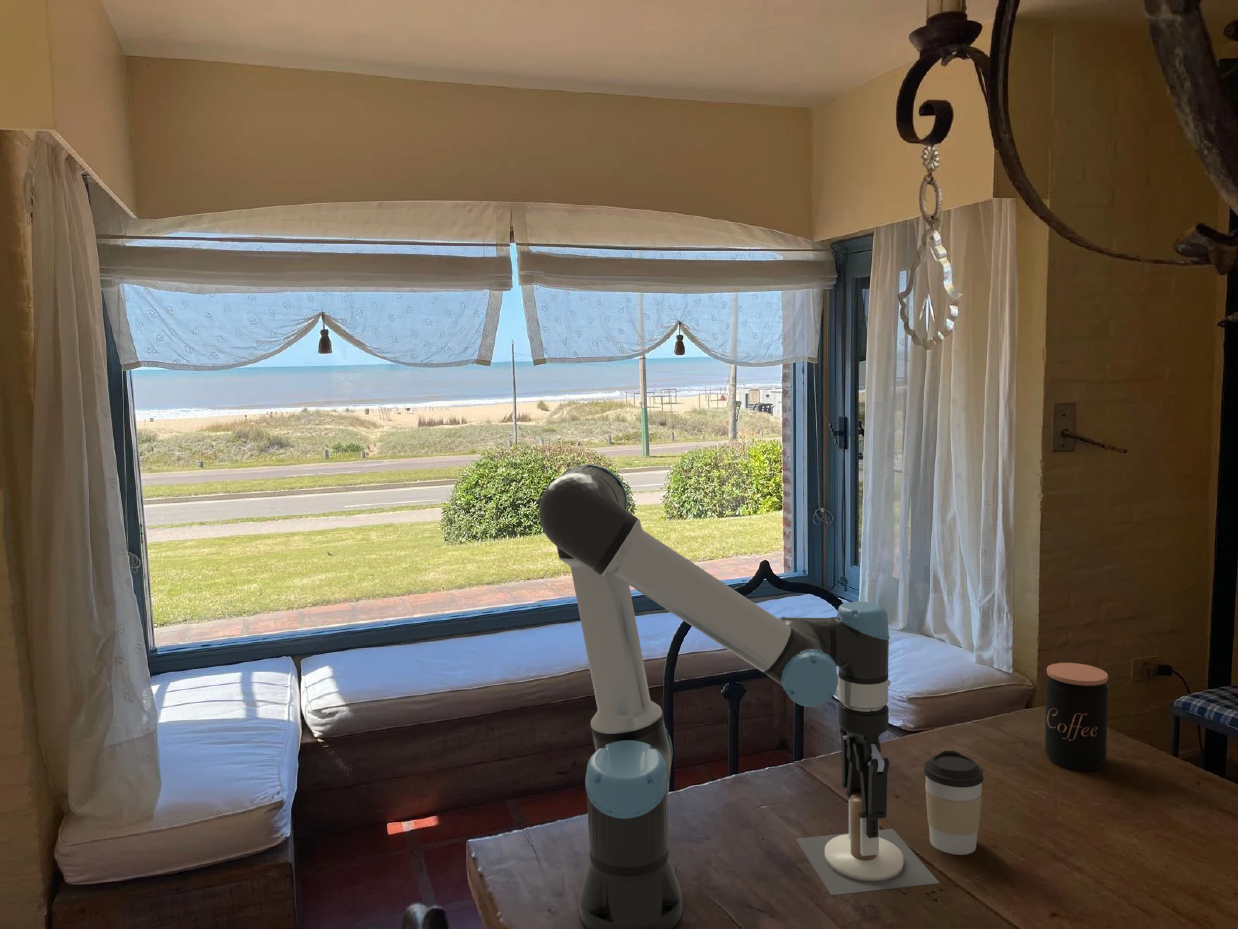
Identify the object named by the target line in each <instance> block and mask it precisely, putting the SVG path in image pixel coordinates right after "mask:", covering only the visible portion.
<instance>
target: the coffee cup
mask: <svg viewBox="0 0 1238 929" xmlns="http://www.w3.org/2000/svg"><path fill="white" fill-rule="evenodd" d="M923 766H924V767H923V773H924V774H923V775H924V777H925V785H924V787H925V801H926V812H927V813H926V815H927V823H928V828H929V841H930V845H932V846H933V847H934V848H935V849H937V850H938V851H939V852H940V851H941V852H943V853H946V854H949V855H957V856H959V855H961V856H964V855H969V854H972V853H974V852H975V851H976V849H977V843H978V842H977V840H978V831H979V829H980V822H981V821H980V819H981V812H982V810H981V809H982V801H983V800H982V797H983V791H982V789H983V788H982V786H983V785H982V784H983V782H984V779H985V778H984V770H983V768H982V767H981V766H979V765H978V764H977V763H976V761H974V759H972V758H971V757H969V756H966V755H963V754H961V753H960V752H957V751H955V750H944V751H941V752H939V753H937V754H935V755H933V756H931V758H930V759H928V760H927V761H926V762H925V763H924V765H923Z"/></svg>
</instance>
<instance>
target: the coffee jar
mask: <svg viewBox="0 0 1238 929" xmlns="http://www.w3.org/2000/svg"><path fill="white" fill-rule="evenodd" d="M1046 673H1047V676H1048V677H1047V679H1046V680H1045V681H1046V682H1045V727H1044V728H1045V730H1044V735H1045V736H1044V737H1045V738H1044V751H1045V753H1046V754H1045V755H1046V756H1047V757H1048V758H1049V760H1050V761H1051V762H1052V763H1054V764H1056V765H1057V766H1059V767H1061V768H1065V769H1068V770H1074V771H1080V770H1082V771H1083V770H1092V771H1096V769H1097V770H1098V768H1099V769H1100V767H1101V768H1102V766H1104V764H1105V763H1106V761H1107V746H1108V744H1107V742H1108V741H1107V738H1108V707H1109V706H1108V705H1109V704H1108V703H1109V702H1108V701H1109V687H1108V685H1107V684H1106V683H1107V682H1108V680H1109V675H1108V672H1106V671H1105V670H1103V669H1101V668H1098V667H1096V666H1093V665H1090V664H1083V663H1075V662H1058V663H1051V664H1049V665H1048V666H1047V668H1046Z"/></svg>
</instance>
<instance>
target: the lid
mask: <svg viewBox="0 0 1238 929" xmlns="http://www.w3.org/2000/svg"><path fill="white" fill-rule="evenodd" d="M849 799H850V839H849V834H846V833H844V834H845V835H840V836H837V837H835V838H833V839H831V840H830V841H829V842H828V843H827V844H826V846H825V860H826V862H827V864H828V865H829V866H830V867H831V868H832V869H833V870H835V871H836V872H838V873H839V874H841V875H843V876H846V877H849V878H852V879H856V880H861V881H884V880H888V879H891V878H893V877H895V876H897V875H898V874H900V872H901V871H902V869H903V859H904V858H903V854H902V852H901V851H900V849H899V848H898V847H896V846H895V845H894V844H892V843H891V842H889V841H887V840H885V839H882V838H880V837H879V854H878V855H868V856H862V855H861V854H860V817H859V813H862V812H863V805H862V793H856V794H853V795H852V796H851V797H850V798H849Z"/></svg>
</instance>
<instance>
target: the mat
mask: <svg viewBox="0 0 1238 929" xmlns="http://www.w3.org/2000/svg"><path fill="white" fill-rule="evenodd" d="M845 834H849V832H848V833H838V834H830V835H820V836H809V837H799V838H798V837H797V838H795V841H796V842H797V844H798V846H799V847H800V849H801V850H802V852H803V853H804V855H805V857H806V858H807V860H808V861H809V863H810V865H811V866H812V868H813V870H814V871H815V872H816V874H817V876H818V877H819V879H820V880H821V882H822V884H823V885H824V887H825V889H826V890H827V892H828V893H829V894H830V896H838V895H846V894H855V893H856V894H857V893H864V892H873V891H874V892H875V891H881V890H884V891H885V890H891V889H900V888H908V887H909V888H910V887H916V886H917V887H918V886H927V885H937V884H940V881H939V880H938V879H937V878H936V877H935V876H934V875H933V873H932V872H931V871H930V870H929V868H927V866H925V864H924V863H923V862H922V861H921V860H920V858H919V857H918V856H917V854H915V853H914V852H913V850H912V849H911V848H910V847H909V845H907V843H906V842H905V841H904V839H902V838H901V836H900V835H899V834H898V833H897V832H896V831H895V830H894V829H893V828H887V829H879V837H880V838H882V839H885V840H887V841H889V842H891V843H892V844H894V845H895V846H896V847H898V848H899V849H900V851H901V852H902V854H903V858H904V859H903V869H902V871H901V872H900V874H898V875H897V876H895V877H893V878H891V879H888V880H884V881H861V880H856V879H852V878H849V877H846V876H843V875H841V874H839V873H838V872H836V871H835V870H833V869H832V868H831V867H830V866H829V865H828V864H827V862H826V860H825V846H826V844H827V843H828V842H829V841H830V840H831V839H833V838H835V837H837V836H840V835H845Z"/></svg>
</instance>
